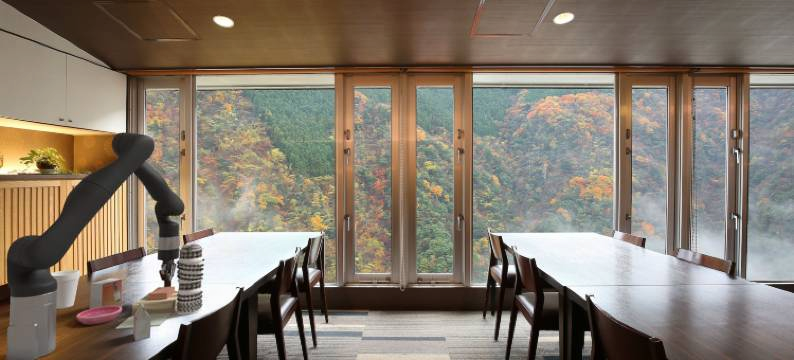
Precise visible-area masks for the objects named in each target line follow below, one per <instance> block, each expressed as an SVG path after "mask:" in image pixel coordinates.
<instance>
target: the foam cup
mask: <svg viewBox="0 0 794 360" xmlns="http://www.w3.org/2000/svg"><path fill="white" fill-rule="evenodd" d="M50 273H51V275H52V276H53V277H54V278H55V279H56V280H57V306H56V310H59V309H60V310H62V309H66V308H69V307H70V308H71V307H73V306H74V304H75V300H76V294H77V290H78V289H77V288H78V286H79V285H78V284H79V279H80V277H81V270H79V269H70V270H69V269H68V270H60V271H59V270H58V271H53V272H50Z"/></svg>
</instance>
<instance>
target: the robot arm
mask: <svg viewBox="0 0 794 360" xmlns="http://www.w3.org/2000/svg"><path fill="white" fill-rule="evenodd" d="M111 147H112V150H113V152H114V154H115V155H116V156H117V157H118V158H116V159H115V160H114V161H112V162H111V163H109V164H106V165H104V166H103V167H101V168H98V169H97V170H94V171H92V172H91V173H89V174H88V175H86V176H85V177H84V178H82V179H81V180H80V181H79V182H78V183H77V184H76V185H75V186H74V187H73V188H72V189H71V190H70V192H69V193H68V195H67V196H66V199H65V201H64V203H63V207H62V210H61V212H60V214H59V216H58V217H57V219H56V220H55V221H54V222H53V223H52V224H51V225H50V226H49V227H48V228H47V229H45V230H44V232H43V233H42V234H41V235H38V234H37V235H36V234H35V235H34V234H29V235H24V236H21V237H18V238H17V239H15V240H14V241H13V242H12V243H11V244H10V246H9V248H8V250H7V254H6V282H7V286H8V288H9V290H10V305H9V306H10V307H9V326H8V327H7V329H6V331H7V332H6V333H7V334H6V355H5V356H6V359H5V360H36V359H38V358H41V357H42V358H43V357H44V356H46V355H49V354H51V353H53V352H54V351H55V350H56V332H57V309H56V306H57V280H56V279H55V278H54V277H53V276H52V275H51V273H52V272H51V271H50V268H52V267H54V266H55V265H57V264H58V263H59V262H60V261H62V259H63V258H64V257H65V256H66V254H67V253H68V251H69V250H70V248H71V247H72V245H73V244H74V243H75V241H76V240H77V238H78V237H79V236H80V234H81V232H82V231H83V230H84V229H85V228H86V227H87V226H88V224H90V222H91V221H92V220H93V219H94V218H95V216H96V215H97V214H98V212H100V210H102V208H103V207H104V206H105V205H107V203H108V202H109V200H111V198H112V197H113V196H114V195H115V193H116V192H117V191H118V189H120V187H122V186H123V184H124V183H125V182H126V181H127V180H128V179H129V178H130V176H131V175H132V174H134V175H135V176H136V177H137V179H139V180H138V181H140V182H141V184H142V185H143V187H144V189H145V190H146V191H147V193H148V194H149V195H150V198H151V199H153V201H155V205H154V207H153V209H154V214H155V217H156V221H157V225H158V240H157V260H158V261H162V262H161V266H160V269H159V271H158V273H159V276H160V279H161V281H162V282H163V287H172V280H173V278H174V277H175V272H176V269H177V263H176V262H175V260H179V258H180V251H179V250H180V224H179V222H177V221H173V220H171V218H170V217H179V216H181V215H182V214H183V213H184V212H185V208H186V207H185V203H184V200H182V198H180V196H178V195H177V193H175V192H174V191H172V189H171V188H170V186H169V184H168V183H167V181H166V179H165V178H164V177H163V176H162V175H161V174H160V173H159V172H158V171H157V170H156V169H155V168H154V167H152V166H151V165H150V164H149V163H148V162H147V161H148V160H149V158H150V157H151V156H152V155H153V153H154V150H155V141H154V139H153V138H152V137H150V136H149V135H145V134H141V133H135V132H134V133H133V132H119V133H117V134H115V136H114V137H112V140H111Z"/></svg>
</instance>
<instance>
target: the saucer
mask: <svg viewBox="0 0 794 360" xmlns="http://www.w3.org/2000/svg"><path fill="white" fill-rule="evenodd" d="M122 311H123V307H122V305H121V306H102V307H97V308H92V309H90V308H89V309H85V310H84V311H81V312H78V313H77V314H76V317H75V318H76V320H77V321H78V322H80V323H81V324H82V325H88V326H89V325H90V326H91V325H99V324H103V323H107V322H110V321H113V320H115V319H116V318H117V317H118V316H119V315H120V314H121V313H122Z"/></svg>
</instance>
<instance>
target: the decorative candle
mask: <svg viewBox="0 0 794 360" xmlns="http://www.w3.org/2000/svg"><path fill="white" fill-rule="evenodd" d="M203 250H204V247H201V245H200V244H185V245H182V247H181V249H180V248H179V258H178V260H177V261H176V269H178V270H176V271H177V272H176V278H177V283H178V290H177V291H178V294H177V296H178V298H177V300H178V302H177V309H176V314H177V315H181V316H183V315H184V316H187V315H194V314H197V313H199V312H201V311H203V304H202V303H203V299H202V298H203V295H202V294H203V290H202V289H203V287H202V280H203V279H204V277H202V276H204V273H203V271H204V266H205V263H202V262H204V261H205V258H203Z"/></svg>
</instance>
